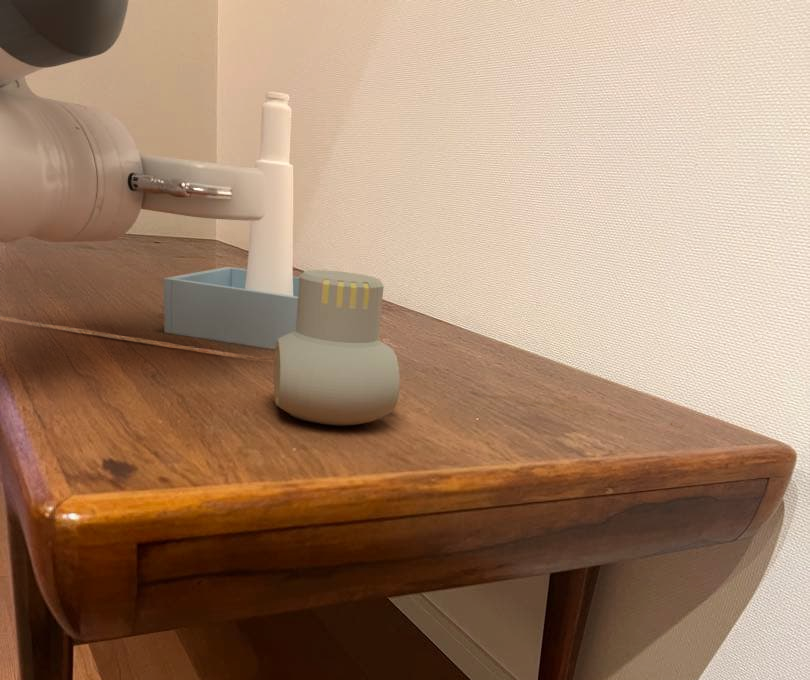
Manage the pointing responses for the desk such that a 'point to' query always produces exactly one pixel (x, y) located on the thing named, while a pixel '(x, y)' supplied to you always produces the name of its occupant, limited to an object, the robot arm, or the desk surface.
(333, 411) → the air freshener
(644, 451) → the desk surface
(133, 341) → the desk surface
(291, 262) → the cosmetic bottle
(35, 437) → the desk surface
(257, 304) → the basket
